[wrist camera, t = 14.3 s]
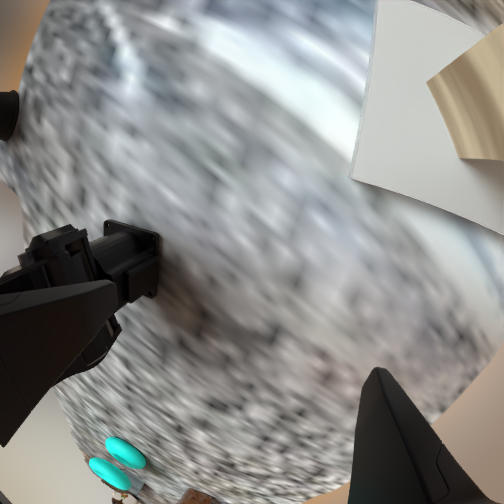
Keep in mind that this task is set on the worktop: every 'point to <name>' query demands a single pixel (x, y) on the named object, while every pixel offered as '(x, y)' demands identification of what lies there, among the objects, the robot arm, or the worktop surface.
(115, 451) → the donuts
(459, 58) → the birch block
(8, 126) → the aerosol can
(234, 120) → the worktop surface
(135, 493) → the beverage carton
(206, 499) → the food item
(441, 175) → the light grey slab
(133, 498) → the spread jar
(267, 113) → the worktop surface
